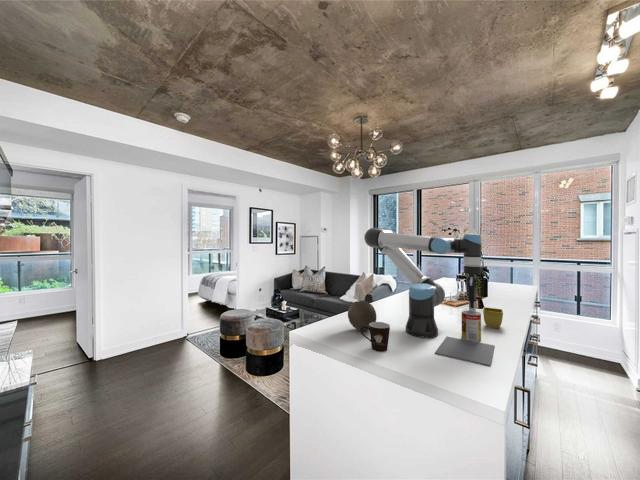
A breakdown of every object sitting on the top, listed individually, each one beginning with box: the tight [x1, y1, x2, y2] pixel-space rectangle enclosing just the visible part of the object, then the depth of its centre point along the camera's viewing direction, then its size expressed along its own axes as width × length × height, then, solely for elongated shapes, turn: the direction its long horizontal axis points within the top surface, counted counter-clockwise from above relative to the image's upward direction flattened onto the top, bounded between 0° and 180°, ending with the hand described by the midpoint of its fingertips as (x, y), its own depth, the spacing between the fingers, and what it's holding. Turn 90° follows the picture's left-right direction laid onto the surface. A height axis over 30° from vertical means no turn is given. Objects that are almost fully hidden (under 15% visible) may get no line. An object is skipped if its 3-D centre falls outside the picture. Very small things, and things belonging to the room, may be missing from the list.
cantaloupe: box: [347, 300, 377, 332], centre depth 136 cm, size 14×14×15 cm
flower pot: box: [482, 306, 504, 329], centre depth 143 cm, size 9×9×9 cm
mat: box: [434, 336, 496, 367], centre depth 112 cm, size 19×23×1 cm
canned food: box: [461, 309, 482, 342], centre depth 126 cm, size 8×8×12 cm
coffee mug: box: [359, 321, 391, 353], centre depth 115 cm, size 12×9×10 cm
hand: (472, 314), depth 131 cm, fingers closed
